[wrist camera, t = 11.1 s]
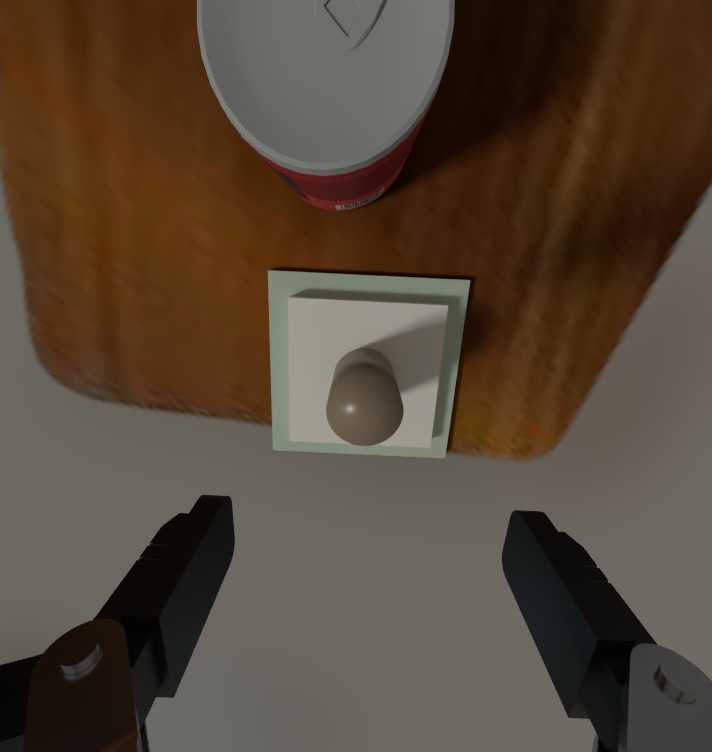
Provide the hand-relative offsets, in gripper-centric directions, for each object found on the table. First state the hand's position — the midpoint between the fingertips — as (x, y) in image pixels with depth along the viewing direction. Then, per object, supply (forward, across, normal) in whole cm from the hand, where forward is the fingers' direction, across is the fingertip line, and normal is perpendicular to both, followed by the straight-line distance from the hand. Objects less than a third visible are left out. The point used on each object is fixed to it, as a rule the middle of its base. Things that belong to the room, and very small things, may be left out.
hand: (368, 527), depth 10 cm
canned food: (+16, +2, -14) cm, 21 cm away
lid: (+15, 0, 0) cm, 15 cm away
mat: (+16, 0, 0) cm, 16 cm away
